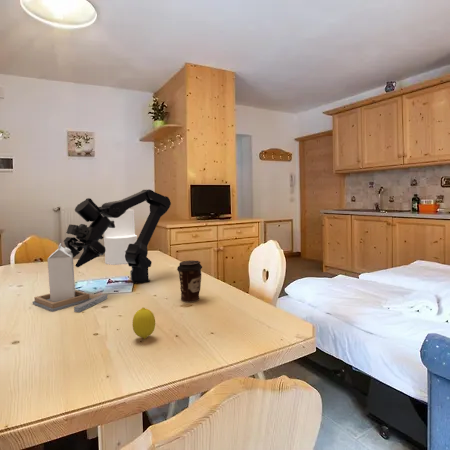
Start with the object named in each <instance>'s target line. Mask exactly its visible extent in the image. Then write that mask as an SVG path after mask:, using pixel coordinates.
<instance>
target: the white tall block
mask: <svg viewBox="0 0 450 450" xmlns="http://www.w3.org/2000/svg"><path fill="white" fill-rule="evenodd" d="M108 219H109V220H110V221H114V224H115V228H109V227H108V228H107V230H106V231H105V232H104V234H103V237H104V238H103V246H104V247H105V249H106V251H105V253H104V263H105V264H107V265H113V266H115V265H117V266H119V265H128V262H127V261H126V259H125V254H126V252H125V251H126V250H127V248H128V245H129V244H134V243H135V242H136V241H137V239H138V235H137V234H136V226H135V223H136V222H135V209H130V208H129V209H127V210H126V212H125V213H124V214H122V215H121V216H120V217H118V218H108Z"/></svg>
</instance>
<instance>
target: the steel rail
mask: <svg viewBox="0 0 450 450" xmlns="http://www.w3.org/2000/svg"><path fill="white" fill-rule="evenodd" d="M106 300H108V294H103V293H102V294H99V295H98V296H95V297H93V298H92V299H91V300H89V301H86V302H84V303H81V304H78V305H74V306H73V311H74V312H75V313H81V312H84V311H85V310H88V309H90V308H91V307H93V306H96V305H97V304H99V303H102V302H104V301H106Z"/></svg>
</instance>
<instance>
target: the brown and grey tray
mask: <svg viewBox="0 0 450 450" xmlns="http://www.w3.org/2000/svg"><path fill="white" fill-rule="evenodd" d="M91 299H93V298H91V297H90V294H89V293H86V292H83V291H79V290H76V289H75V297H73V298H69V299H66V300H62V301H58V302H51V301H50V293H46V294H42V295H37V296H34V301H32V303H31V304H32V305H34V306H37V307H38V308H41V309H44V310H46V311H48V312H52V313H53V312H56V311H60V310H64V309H67V308H70V307H75V306H78V305H80V304H82V303H84V302H86V301H89V300H91Z"/></svg>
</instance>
